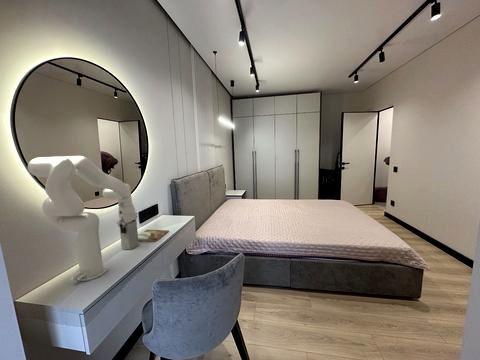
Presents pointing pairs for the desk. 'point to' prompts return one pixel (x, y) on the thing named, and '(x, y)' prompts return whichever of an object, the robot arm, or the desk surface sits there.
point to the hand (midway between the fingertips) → (129, 229)
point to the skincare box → (129, 236)
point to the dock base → (146, 235)
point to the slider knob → (153, 234)
